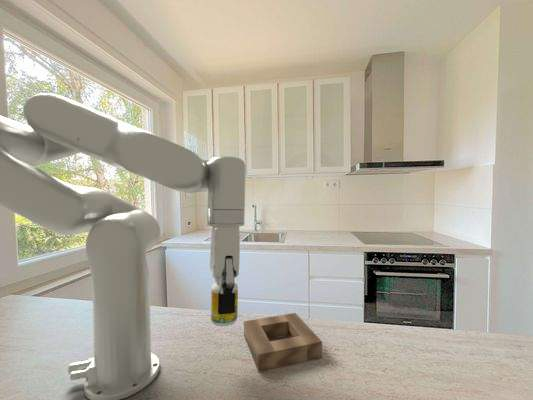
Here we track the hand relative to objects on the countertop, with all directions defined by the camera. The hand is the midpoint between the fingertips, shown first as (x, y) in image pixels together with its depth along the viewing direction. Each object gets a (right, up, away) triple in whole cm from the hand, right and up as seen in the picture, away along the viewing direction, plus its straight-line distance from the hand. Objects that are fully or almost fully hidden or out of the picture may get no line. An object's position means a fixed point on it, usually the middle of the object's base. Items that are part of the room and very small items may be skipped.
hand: (224, 305), depth 51 cm
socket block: (+12, -12, +7) cm, 18 cm away
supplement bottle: (0, -3, 0) cm, 3 cm away
